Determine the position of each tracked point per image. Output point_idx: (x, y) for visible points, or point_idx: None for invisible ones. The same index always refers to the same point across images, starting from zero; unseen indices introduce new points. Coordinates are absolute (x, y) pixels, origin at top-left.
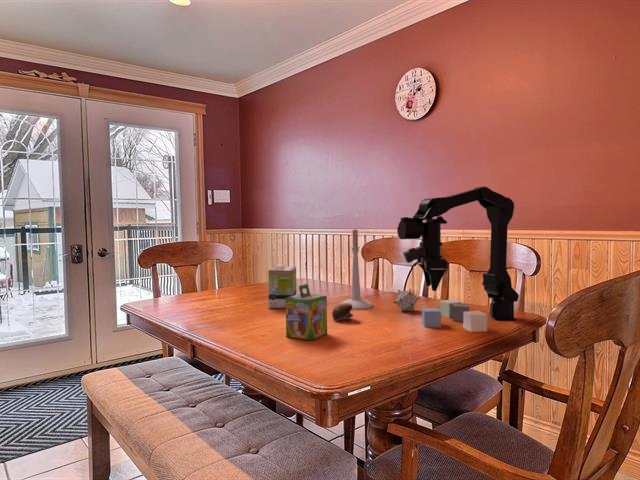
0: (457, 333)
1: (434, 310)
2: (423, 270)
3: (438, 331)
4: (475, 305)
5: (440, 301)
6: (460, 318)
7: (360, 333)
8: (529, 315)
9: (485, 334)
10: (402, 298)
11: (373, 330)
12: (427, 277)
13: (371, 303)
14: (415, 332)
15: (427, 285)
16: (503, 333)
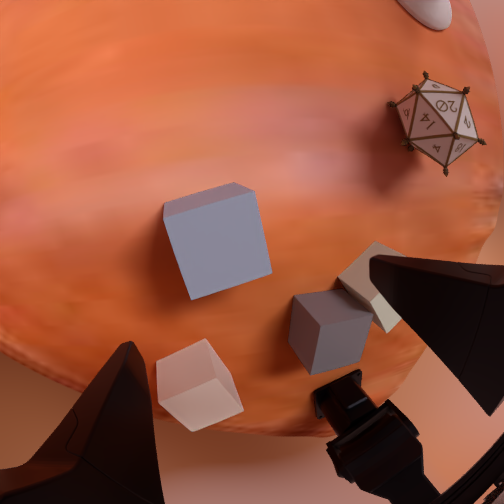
0: (117, 328)
1: (205, 267)
2: (494, 280)
3: (115, 266)
4: None
5: None
6: (295, 324)
7: (34, 8)
8: None
9: None
10: (425, 99)
11: (72, 23)
12: (423, 292)
13: (436, 23)
14: (70, 181)
15: (372, 263)
16: None
